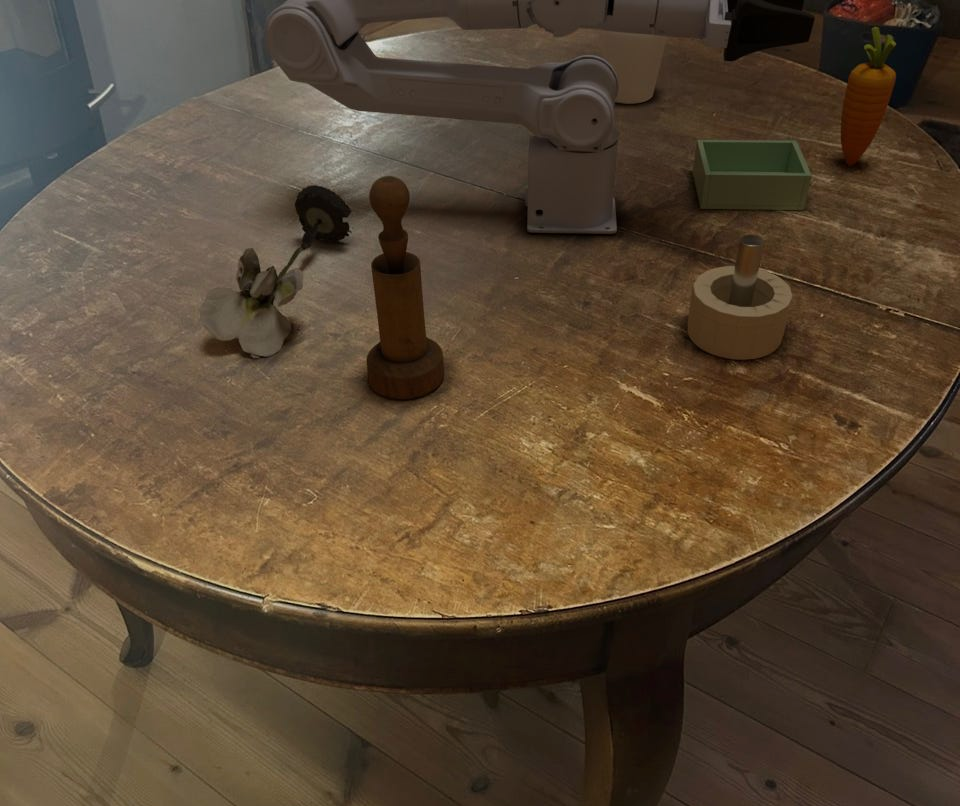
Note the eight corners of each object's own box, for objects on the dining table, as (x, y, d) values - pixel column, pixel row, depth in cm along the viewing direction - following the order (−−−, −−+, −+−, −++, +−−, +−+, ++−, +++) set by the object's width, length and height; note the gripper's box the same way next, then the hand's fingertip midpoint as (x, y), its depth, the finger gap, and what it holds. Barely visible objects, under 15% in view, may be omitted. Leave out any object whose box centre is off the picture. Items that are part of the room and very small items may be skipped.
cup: (585, 88, 129) (590, -5, 121) (644, 80, 131) (653, -13, 123) (611, 111, 123) (618, 14, 115) (672, 102, 125) (684, 6, 117)
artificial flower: (372, 254, 99) (382, 177, 91) (267, 394, 85) (268, 318, 77) (297, 222, 99) (301, 142, 91) (181, 356, 86) (173, 276, 78)
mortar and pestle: (405, 346, 84) (387, 153, 72) (459, 372, 81) (450, 175, 69) (353, 381, 80) (324, 183, 68) (408, 410, 77) (389, 208, 65)
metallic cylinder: (725, 336, 83) (742, 248, 77) (722, 319, 85) (737, 231, 79) (748, 337, 83) (766, 248, 77) (744, 320, 85) (761, 232, 79)
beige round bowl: (691, 358, 81) (698, 315, 78) (683, 307, 88) (689, 264, 85) (789, 361, 81) (799, 317, 78) (773, 309, 87) (783, 266, 84)
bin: (700, 209, 102) (705, 174, 99) (692, 172, 109) (697, 139, 106) (803, 210, 101) (811, 175, 99) (789, 173, 108) (796, 140, 105)
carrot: (874, 176, 107) (911, 39, 97) (829, 173, 108) (862, 37, 98) (869, 158, 111) (905, 24, 101) (826, 155, 112) (857, 22, 101)
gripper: (663, -20, 78) (828, -7, 76) (666, -71, 88) (812, -61, 86) (650, 66, 83) (805, 79, 82) (654, 8, 93) (792, 19, 92)
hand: (807, 13), depth 84 cm, fingers open, 7 cm apart
